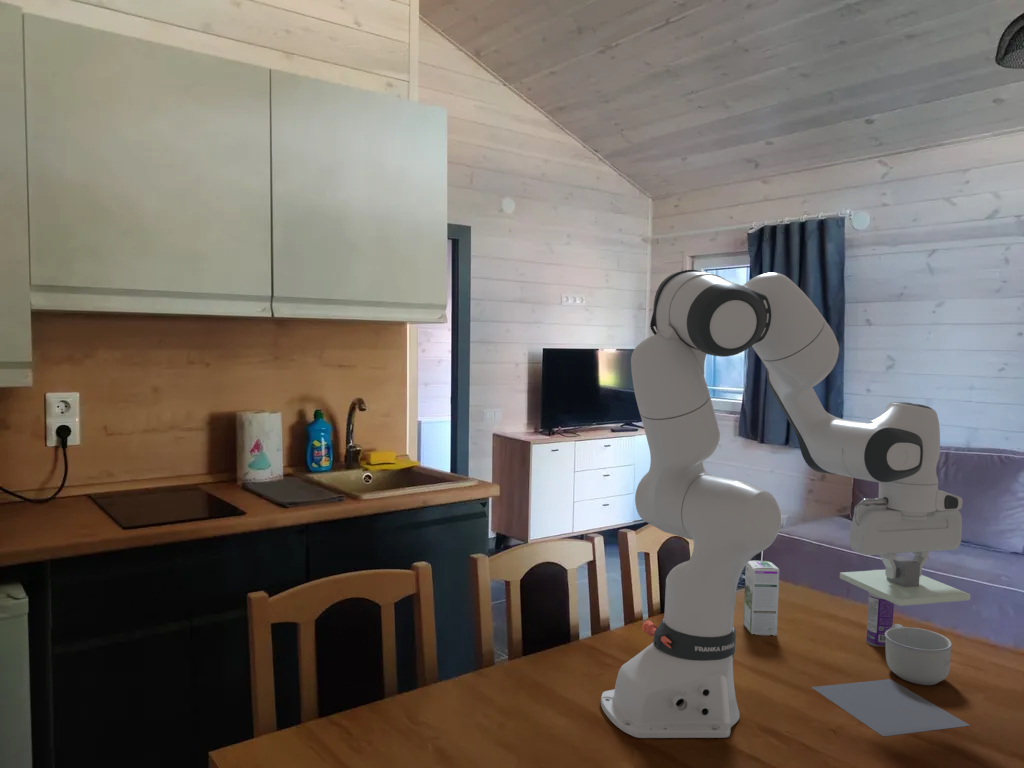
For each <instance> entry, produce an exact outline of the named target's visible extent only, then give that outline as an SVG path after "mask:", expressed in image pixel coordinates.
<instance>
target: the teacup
mask: <svg viewBox="0 0 1024 768" xmlns="http://www.w3.org/2000/svg"><path fill="white" fill-rule="evenodd" d="M885 637H886V646H885V660H886V664H887V666H888V668H889V669H890V670H891V671H892V672H893V673H894V674H895V675H896V676H897V677H898V678H899V679H900V678H901V679H902V680H904V681H906V682H909V683H912V684H917V685H922V686H933V685H934V686H935V685H936V684H939V683H940V682H942V681H944V680H946V678H948V676H949V674H950V670H951V653H952V651H951V650H952V646H953V645H952V641H951V640H950V639H949V638H948V637H946V636H945V635H943V634H940V633H938V632H937V631H932V630H929V629H924V628H919V627H909V626H903V625H902V624H901V623H894V624H893V625H892V627H891V629H888V630H887V631H886V632H885Z"/></svg>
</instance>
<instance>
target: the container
mask: <svg viewBox="0 0 1024 768" xmlns="http://www.w3.org/2000/svg"><path fill="white" fill-rule="evenodd" d="M867 601H868V604H867V605H868V606H867V620H866V621H867V624H866V637H865V638H866V639H865V641H866V644H868V645H870V646H872V647H886V637H885V632H886V631H887V630H888V629H891V627H892V625H894V624H893V623H894V610H895V609H894V607H895V604H894V603H892V602H890V601H888V600H885V599H883V598H881V597H879V596H877V595H875V594H873V593H870V592H868V600H867Z"/></svg>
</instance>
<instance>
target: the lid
mask: <svg viewBox="0 0 1024 768" xmlns="http://www.w3.org/2000/svg"><path fill="white" fill-rule="evenodd" d="M893 561H894V563H895V566H896V567H897V568H900V577H899V578H894V579H891V578H889V577H887V576H886V575H885V570H886V569H870V570H859V571H858V570H857V571H845V572H843V571H841V572H839V579H840V580H842V581H845V582H847V583H849V584H852V585H854V586H855V587H858V588H860V589H862V590H865V591H866V592H868V593H869V592H870V593H873V594H875V595H877V596H879V597H881V598H883V599H885V600H888V601H890V602H892V603H894V605H897V606H899V607H902V606H904V607H905V606H915V605H928V604H938V603H951V602H952V603H953V602H962V601H963V602H964V601H971V593H968V592H966V591H964V590H961V589H958V588H955V587H954V586H951V585H948V584H946V583H943V582H941V581H938V580H935V579H933V578H931V577H928V576H926V575H923V574H922V575H921V576H920V563H919V562H916V561H913V559H910V558H908V557H905V556H903V555H902V556H900V555H899V556H896V559H893Z"/></svg>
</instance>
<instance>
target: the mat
mask: <svg viewBox="0 0 1024 768" xmlns="http://www.w3.org/2000/svg"><path fill="white" fill-rule="evenodd" d="M811 689H813V691H816V692H817V693H819V694H820V695H821V696H823V697H825V698H826V699H827V700H828V701H830V702H832V703H833V704H834V705H836V706H837V707H839V708H840V709H842V710H843V711H845V713H846V712H847V714H849V715H851V716H852V717H853V718H855V719H856V720H858V721H859V722H861V723H863V724H864V725H865V726H867V727H868V728H869V729H871V730H872V731H874V732H875V733H877V734H879V735H880V736H881V737H892V736H900V735H907V734H915V733H922V732H923V733H925V732H931V731H939V730H940V731H941V730H946V729H947V730H948V729H955V728H963V727H971V725H970V724H968V723H967V722H965V721H964V720H962V719H960V718H959V717H957V716H955V715H953V714H951V713H950V712H948V711H946V710H944V709H943V708H941V707H939V706H937V705H936V704H934V703H933V702H931V701H929V700H927V699H925V698H924V697H922V696H920V695H919V694H917V693H915V692H913V691H912V690H910V689H908V688H906V687H905V686H903V685H902V684H900V683H897V682H896V681H894V680H893V679H890V678H886V679H878V680H869V681H857V682H856V681H855V682H849V683H848V682H847V683H846V682H845V683H839V684H828V685H820V686H811Z"/></svg>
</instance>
